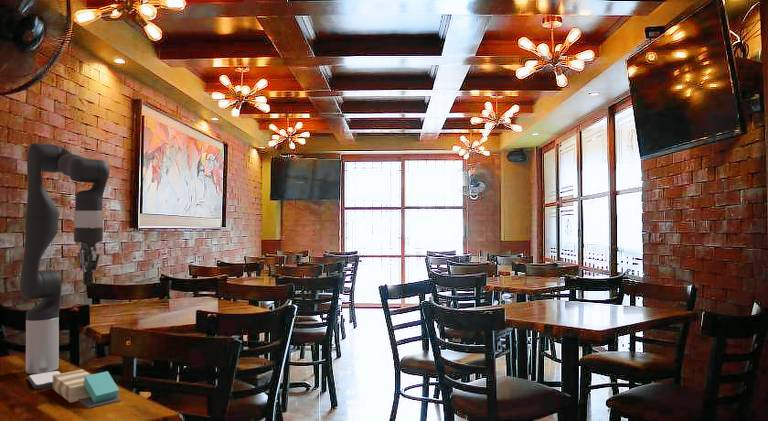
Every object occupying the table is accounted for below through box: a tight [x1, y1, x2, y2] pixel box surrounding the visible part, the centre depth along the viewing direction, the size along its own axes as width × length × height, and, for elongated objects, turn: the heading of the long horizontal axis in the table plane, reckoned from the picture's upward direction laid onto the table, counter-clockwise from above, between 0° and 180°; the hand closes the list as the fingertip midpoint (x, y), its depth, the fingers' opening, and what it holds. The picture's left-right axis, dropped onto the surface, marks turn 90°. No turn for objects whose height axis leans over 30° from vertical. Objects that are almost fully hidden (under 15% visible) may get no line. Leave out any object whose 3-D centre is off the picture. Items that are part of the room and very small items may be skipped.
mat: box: [77, 396, 122, 409], centre depth 145 cm, size 9×8×1 cm
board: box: [52, 369, 92, 404], centre depth 153 cm, size 18×8×4 cm, turn 45°
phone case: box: [27, 370, 61, 390], centre depth 164 cm, size 9×2×16 cm
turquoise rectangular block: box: [83, 370, 120, 403], centre depth 146 cm, size 8×6×2 cm
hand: (87, 284), depth 157 cm, fingers closed
